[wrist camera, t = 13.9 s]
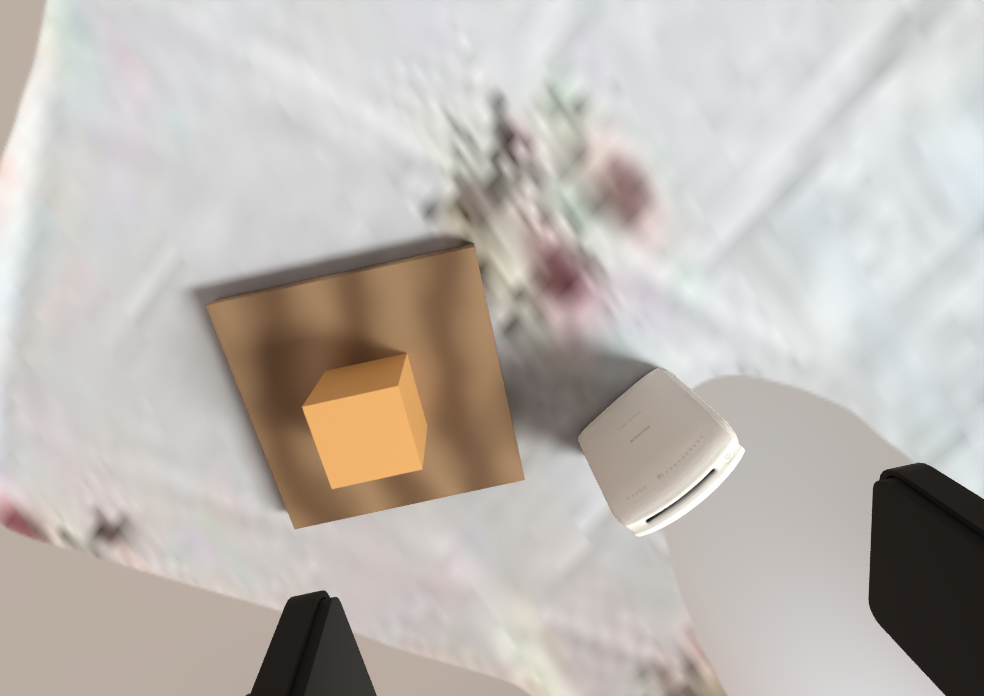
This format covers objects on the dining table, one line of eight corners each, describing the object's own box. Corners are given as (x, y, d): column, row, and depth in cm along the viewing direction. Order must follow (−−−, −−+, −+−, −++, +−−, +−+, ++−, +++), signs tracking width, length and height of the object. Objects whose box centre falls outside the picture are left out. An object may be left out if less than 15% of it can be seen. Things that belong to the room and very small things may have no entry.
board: (473, 243, 40) (477, 257, 33) (521, 467, 46) (532, 516, 40) (217, 299, 40) (169, 324, 33) (301, 514, 47) (275, 571, 40)
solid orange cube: (406, 353, 40) (397, 385, 34) (427, 426, 42) (422, 469, 36) (325, 371, 40) (301, 407, 34) (349, 443, 42) (331, 489, 36)
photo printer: (659, 356, 44) (733, 424, 32) (689, 389, 45) (771, 466, 33) (567, 435, 46) (606, 526, 34) (599, 465, 47) (646, 563, 35)
